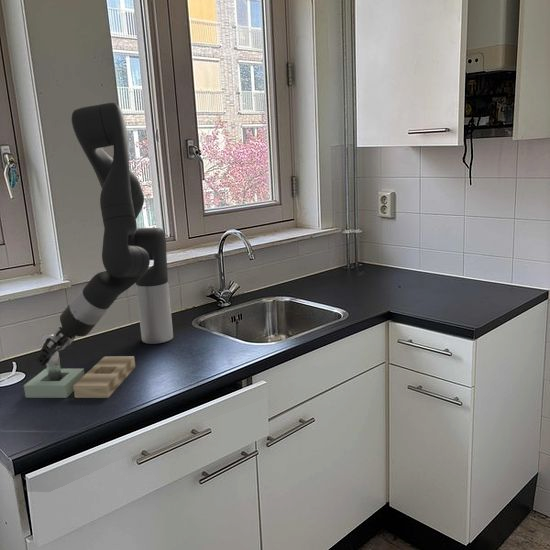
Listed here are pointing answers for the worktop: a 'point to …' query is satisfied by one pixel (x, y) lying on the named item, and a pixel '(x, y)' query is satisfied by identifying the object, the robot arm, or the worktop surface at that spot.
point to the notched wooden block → (104, 377)
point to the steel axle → (53, 363)
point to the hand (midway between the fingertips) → (44, 360)
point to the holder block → (53, 384)
